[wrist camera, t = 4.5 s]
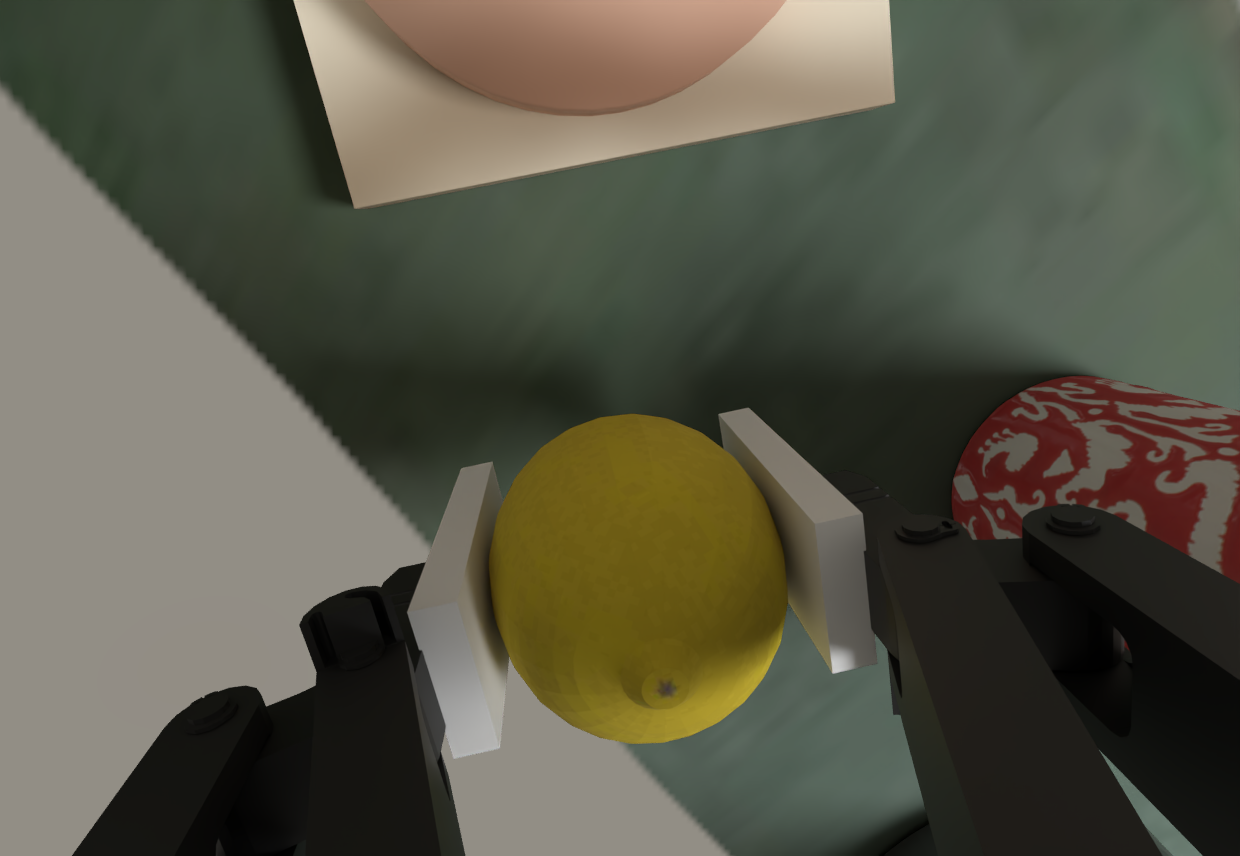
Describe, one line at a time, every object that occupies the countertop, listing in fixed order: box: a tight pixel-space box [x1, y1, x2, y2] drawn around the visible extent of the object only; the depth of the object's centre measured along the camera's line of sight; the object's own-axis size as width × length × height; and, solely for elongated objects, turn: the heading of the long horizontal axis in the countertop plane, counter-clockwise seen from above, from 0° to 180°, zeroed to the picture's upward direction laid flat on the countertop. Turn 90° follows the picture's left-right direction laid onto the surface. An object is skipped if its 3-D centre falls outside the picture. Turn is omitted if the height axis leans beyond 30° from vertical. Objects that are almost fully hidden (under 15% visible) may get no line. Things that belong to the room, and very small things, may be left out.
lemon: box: [489, 414, 788, 744], centre depth 14 cm, size 6×6×8 cm
